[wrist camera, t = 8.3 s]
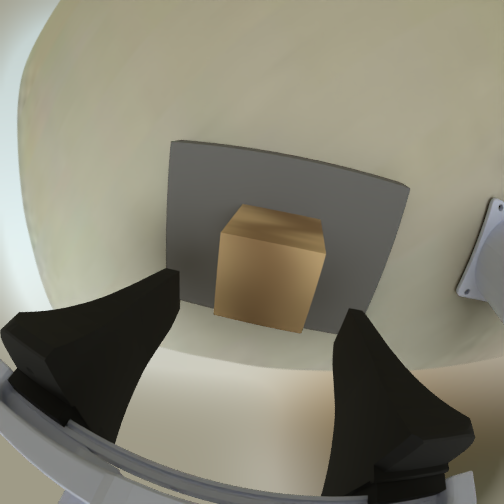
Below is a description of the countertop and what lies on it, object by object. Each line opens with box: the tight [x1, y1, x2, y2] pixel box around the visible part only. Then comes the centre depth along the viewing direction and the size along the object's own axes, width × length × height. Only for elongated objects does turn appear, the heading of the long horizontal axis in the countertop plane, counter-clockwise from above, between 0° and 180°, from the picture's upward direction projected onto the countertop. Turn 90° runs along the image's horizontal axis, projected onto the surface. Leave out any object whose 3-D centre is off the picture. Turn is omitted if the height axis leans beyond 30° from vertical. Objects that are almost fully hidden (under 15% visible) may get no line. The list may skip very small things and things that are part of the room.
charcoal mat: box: [166, 140, 410, 334], centre depth 17 cm, size 14×11×2 cm
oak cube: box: [214, 204, 326, 333], centre depth 14 cm, size 4×4×4 cm
